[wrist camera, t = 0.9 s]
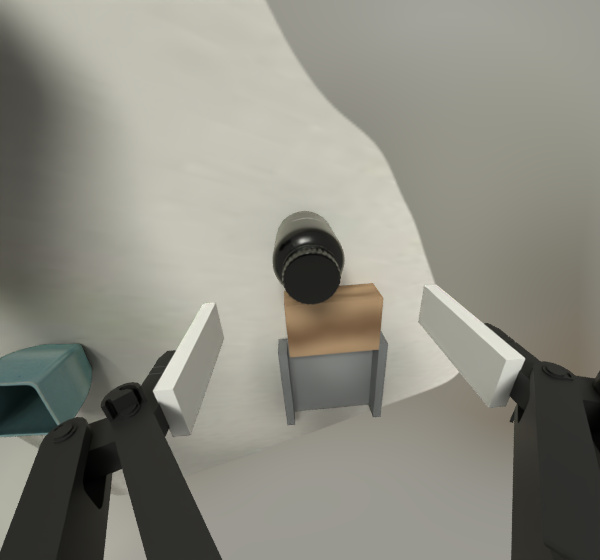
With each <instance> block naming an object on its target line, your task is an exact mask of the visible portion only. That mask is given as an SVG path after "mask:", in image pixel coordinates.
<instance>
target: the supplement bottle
mask: <svg viewBox="0 0 600 560" xmlns="http://www.w3.org/2000/svg"><path fill="white" fill-rule="evenodd" d="M344 261H345V259H344V252H343V249H342V246H341V244H340V242H339V241H338V239H337V237H336V236H335V234H334V232H333V231H332V229H331V227H330V226H329V224H328V223H327V221H326V220H325V219H324V218H323V217H321V216H320V215H318V214H316V213H313V212H309V211H301V212H297V213H294V214H292V215H290V216H288V217H287V218H286V219H285V220H284V221H283V222H282V223H281V225H280V227H279V229H278V232H277V236H276V241H275V247H274V253H273V269H274V273H275V275H276V277H277V279H278V280H279V282H280V283H281V284H282V285H283V286H284V288H285V290H286V292H287V293H288V295H289V296H290V297H292V299H294V300H296V301H297V302H301V303H302V304H307V305H309V304H312V305H314V304H319V303H321V302H324V301H325V300H328V299H329V298H330V297H332V296H333V294H334V293H335V292H336V290H337V289H338V288H339V284H340V278H341V274H342V272H343V268H344Z"/></svg>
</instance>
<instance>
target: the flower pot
mask: <svg viewBox="0 0 600 560" xmlns="http://www.w3.org/2000/svg"><path fill="white" fill-rule="evenodd" d="M91 379H92V368H91V365H90V363H89V361H88V359H87V357H86V355H85V353H84V350H83V348H82V346H81V345H80V344H44V345H39V346H34V347H30V348H26V349H22V350H19V351H16V352H13V353H10V354H8V355H5V356H3V357H1V358H0V437H12V436H31V435H47V434H48V433H49V432H50V431H51V430H52V429H54V428H55V427H56V426H58V425H59V424H61V423H63V422H65V421H67V420H69V419H72V418H74V417H75V416H76V414H77V413H78V411H79V409H80V408H81V406H82V404H83V403H84V401H85V399H86V397H87V395H88V392H89V390H90V386H91Z"/></svg>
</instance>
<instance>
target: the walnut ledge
mask: <svg viewBox="0 0 600 560" xmlns="http://www.w3.org/2000/svg"><path fill="white" fill-rule="evenodd" d="M284 307H285V316H286V326H287V335H288V344H289V353H290V357H301V356H312V355H323V354H335V353H346V352H357V351H369V350H379V342H380V330H381V319H382V307H383V297H382V295H381V294H380V293H379V291H378V290H377V288H376V287H375V285H374V284H373V283H371V284H359V285H347V286H339V288H338V289H337V290H336V292H335V293H334V294H333V296H332V297H330V298H329V299H328V300H325V301H324V302H321V303H319V304H314V305H312V304H309V305H307V304H302V303H301V302H297V301H296V300H294V299H292V297H290V296H289V295H288V293H287V292H286V291H284Z"/></svg>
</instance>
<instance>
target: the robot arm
mask: <svg viewBox="0 0 600 560" xmlns="http://www.w3.org/2000/svg"><path fill="white" fill-rule="evenodd" d="M418 322H419V323H420V325H421V326H422V327H423V328H424V329H425V331H426V332H427V333H428V334H429V335H430V337H431V338H432V339H433V340H434V342H435V343H436V344H437V345H438V346H439V348H440V349H441V350H442V351H443V353H444V354H445V355H446V356H447V357H448V359H449V360H450V361H451V362H452V364H453V365H454V366H455V367H456V368H457V370H458V371H459V372H460V373H461V374H462V376H463V377H464V378H465V379H466V381H467V382H468V383H469V384H470V385H471V387H472V388H473V389H474V390H475V392H476V393H477V394H478V395H479V397H480V398H481V399H482V400H483V401H484V403H485V404H486V405H487V406H488V407H489V408H493V407H503V406H506V405H507V402H508V400H509V398H510V397H511V398H512V399H513V400H514V401H515V402H516V403H517V405H516V407H515V410H514V412H513V415H512V417H511V420H510V422H512V423H513V421H514V458H513V505H512V506H513V507H512V508H513V509H512V550H511V560H600V371H599V373H598V375H597V376H596V378H588V377H580V376H575V375H574V374H573V373H571V372H570V371H569V370H567V369H565V368H564V367H562V366H559V365H557V364H554V363H550V362H541V361H539V360H538V359H537V358H536V357H534V356H533V355H532V354H530V353H529V352H528V351H527V350H525V349H524V348H523V347H522V346H520V345H519V344H518V343H516V342H515V341H514V340H513V339H511V338H510V337H508V336H507V335H506V334H505V333H504V332H503V331H501V330H500V329H499V328H496V327H495V326H492V325H491V324H488V323H484V324H483V323H482V322H481V321H479V320H478V319H477V318H476V317H475V316H473V315H472V314H471V313H470V312H469V311H467V310H466V309H465V308H464V307H463V306H461V305H460V304H459V303H458V302H457V301H455V300H454V299H453V298H452V297H451V296H449V295H448V294H447V293H446V292H444V291H443V290H442V289H441V288H440V287H438V286H437V285H424V289H423V296H422V302H421V308H420V314H419V321H418ZM223 340H224V336H223V331H222V327H221V323H220V319H219V315H218V311H217V306H216V303H205V304H203V305H202V307H201V308H200V310H199V312H198V314H197V315H196V317H195V319H194V320H193V322H192V324H191V326H190V327H189V329H188V331H187V333H186V334H185V336H184V338H183V340H182V341H181V343H180V345H179V347H178V348H177V350H174V351H167V352H166V353H164V354H163V355H162V356H161V357H160V358H159V359H158V360H157V362H156V364H155V365H154V368H152V370H151V371H150V373H149V375H148V376H147V378H146V379H145V381H144V382H143V384H142V385H140V384H138V383H134V382H132V383H126V384H123V385H121V386H118V387H117V388H115V389H114V390H112V391H111V392H110V393H108V394H107V395H106V396H105V398H104V399H103V401H102V403H101V408H102V410H103V411H104V413H105V415H106V417H107V418H105V419H102V420H99V421H96V422H93V423H90V424H88V422H87V420H86V419H84V418H83V417H76V418H72V419H69V420H67V421H65V422H63V423H61V424H59V425H58V426H56V427H55V428H54V429H52V430H51V431H50V432H49V433H48V434H47V435H46V436H45V438H44V439H43V441H42V443H41V445H40V448H39V451H38V453H37V456H36V458H35V461H34V464H33V466H32V469H31V472H30V474H29V477H28V480H27V482H26V485H25V487H24V490H23V493H22V495H21V498H20V501H19V503H18V506H17V508H16V511H15V514H14V517H13V519H12V522H11V524H10V527H9V530H8V532H7V535H6V538H5V540H4V543H3V546H2V548H1V551H0V560H103V557H104V548H105V539H106V529H107V520H108V510H109V501H110V491H111V482H112V473H113V472H115V471H118V470H120V469H123V473H124V477H125V480H126V484H127V488H128V491H129V495H130V499H131V502H132V506H133V510H134V513H135V517H136V521H137V525H138V528H139V532H140V536H141V539H142V543H143V547H144V551H145V554H146V557H147V560H222V558H221V556H220V554H219V552H218V550H217V547H216V545H215V543H214V541H213V539H212V537H211V535H210V533H209V530H208V528H207V526H206V524H205V522H204V520H203V518H202V515H201V513H200V511H199V509H198V507H197V505H196V503H195V500H194V499H193V496H192V494H191V492H190V490H189V488H188V486H187V483H186V481H185V479H184V477H183V475H182V473H181V470H180V468H179V466H178V464H177V462H176V460H175V458H174V456H173V453H172V451H171V449H170V447H169V445H168V443H167V441H166V438H165V436H166V434H167V432H168V429H170V431H171V434H172V436H173V437H175V436H186V435H191V432H192V429H193V427H194V424H195V421H196V418H197V415H198V412H199V409H200V406H201V403H202V401H203V398H204V395H205V392H206V389H207V386H208V383H209V380H210V378H211V375H212V372H213V369H214V366H215V363H216V360H217V357H218V354H219V352H220V349H221V346H222V343H223Z"/></svg>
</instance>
